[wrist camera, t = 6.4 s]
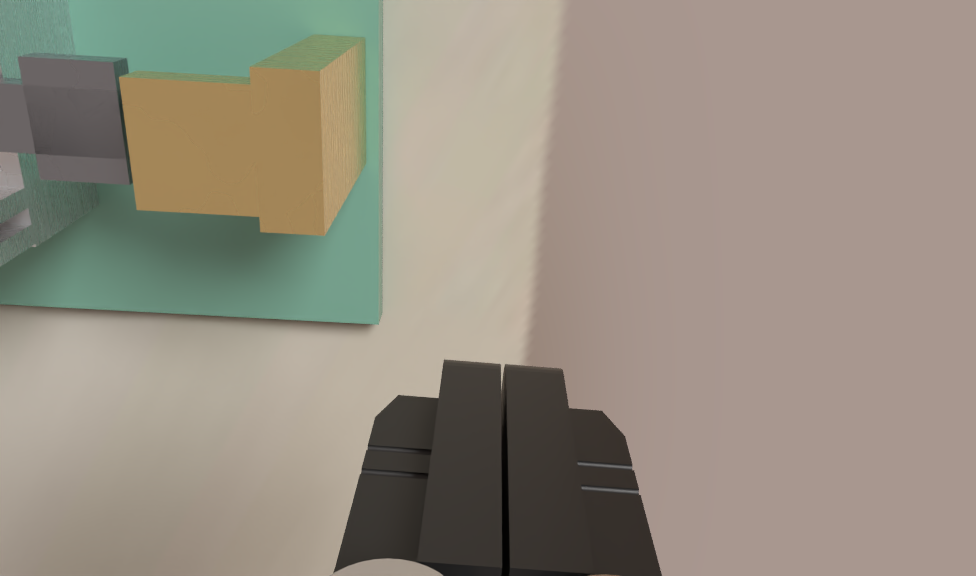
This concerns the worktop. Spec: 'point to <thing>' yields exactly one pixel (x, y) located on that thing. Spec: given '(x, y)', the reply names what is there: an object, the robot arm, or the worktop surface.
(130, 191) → the pcb board
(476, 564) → the robot arm
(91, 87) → the strap
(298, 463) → the worktop surface
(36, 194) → the heat sink
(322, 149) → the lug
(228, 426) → the worktop surface
